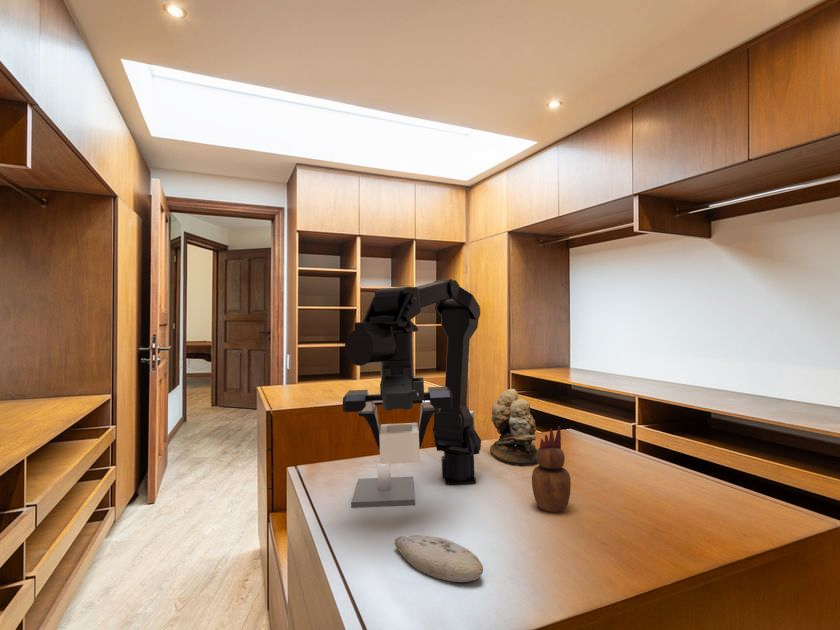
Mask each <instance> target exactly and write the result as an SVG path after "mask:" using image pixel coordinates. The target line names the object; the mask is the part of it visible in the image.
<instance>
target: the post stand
mask: <svg viewBox="0 0 840 630" xmlns="http://www.w3.org/2000/svg"><path fill="white" fill-rule="evenodd" d="M376 464H377V465H376V466H377V477H368V478H357V481H356V484H355V488H354V491H353V494H352V498H351V501H350V506H351V508H352V509H353V508H371V507H372V508H373V507H395V506H399V507H400V506H416V505H415V504H416V503H415V502H416V499H415V483H414V482H415V480H414V479H415V478H414V476H393V477H391V464H380V462H378V463H376Z"/></svg>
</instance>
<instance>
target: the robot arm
mask: <svg viewBox="0 0 840 630" xmlns="http://www.w3.org/2000/svg"><path fill="white" fill-rule="evenodd" d="M433 304H435V305H434V310H435V312H436V313H437V314H438V315H439V317H440V321H441V322H440V323H441V327H442V329H443V331H444V333H445V335H446V337H447V344H446V345H447V346H446V360H445V364H446V365H445V381H444V386H428V387H427V388H428V389H427V391H425V382H424V381H425V380H424V377H423V376H419V377H415V376H414V374H415V373H414V371H415V370H414V345H413V344H414V343H413V333H415V332H418V331H419V327H418V326H417V325H416V324H414V322H413V321H412V320H413V319H414V318H415V317H417V316H418V315H420V314H421V312H422V309H423V308H424V307H425V308H426V307H428V306H431V305H433ZM480 317H481V306H480V304H479V303H478V301H477V299H476V298H475V296H474V295H473V294H472V293H471V292H469V291H468V290H466V289H465V288H462V287H461V286H460V285H459V282H458V281H457V280H455V279H451V278H449V279H446V278H445V279H436V280H434V281H433V282H430V283H425V284H422V285H418V286H399V287H386V288H379V289H377V290H376V291H374V296H373V298H372V299H371V302H370V304H369V307H368V309H367V311H366V313H365V316H364V318H363V320H362V321H360V322H359V321H358V322H357V321H356V322H354V323H353V326H354V328H353V329H354V330H353V331H351V332H350V333H349V334H348V336H347V338H346V341H345V343H344V350H345V355H346V357H347V359H348V360H349V362H351V363H352V364H353V365H355V366H360V367H362V366H367V365H372V364H377V363H380V384H379V389H380V391H379V392H380V393H376V394H373V393H372V394H369V391H368V390H369V389H357V390H356V389H353V390H352V389H350V390H348V391H347V392H346V393H345V395H344V396H343V397H342V412H343V413H357V416H358V417H362V418H364V419H365V420H366V422H367V423H368V425H369V428H370V430H371V432H372V435H373V438H374V441H375V443H376V446H377V449H378V451H380V438H379V434H380V428H381V426H380V423H379V422H380V421H379V420H380V419H379V415H378V407H377V406H382V409H383V410H384V411H389V412H390V411H392V410H403V411H408V410H411V409H413V406H414V404H420V410H419V422H418V431H419V449H420V448H422V445H423V442H424V437H425V435H426V432H427V428H428V424H429V422H430V421H431V418H433V427H432V435H433V440H434V444H435V449H436V451H437V452H439V451H440V452H443V455H442V456H440V457H441V459H440V461H441V477H442V479H443V480H444V483H445V485H463V484H465V485H466V484H476V483H477V480H476V477H475V455H479V454H480V451H481V447H482V440H481V438H480V437H479V435H478V433H477V431H476V429H475V430H474V428H473V417H472V415H471V413H470V411H471V410H469V406H467V401H468V380H469V378H468V377H469V361H470V360H469V357H470V344H471V343H470V341H471V338H472V337H473V335H474V334H475V333H476V331H477V329H478V328H479V319H480ZM432 416H433V417H432Z"/></svg>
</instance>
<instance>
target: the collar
mask: <svg viewBox="0 0 840 630" xmlns="http://www.w3.org/2000/svg"><path fill="white" fill-rule="evenodd" d="M379 438H380V450H379V458H380V459H379V463H380V464H390V465H391V464H411V463H420V462H421V461H420V460H421V458H420V457H421V456H420V448H419V423H418V422H405V423H385V424H384V423H383V424H380V434H379Z"/></svg>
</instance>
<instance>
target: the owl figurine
mask: <svg viewBox="0 0 840 630" xmlns="http://www.w3.org/2000/svg"><path fill="white" fill-rule="evenodd" d="M530 407H531V405H530V403H529V402H528V401H527V400H525V399H523V398H519V395H518V391H517V390H516V389H515V388H510V389H506V390H504V391H502V393H501V394H500V395H499V397H498V399H497V401H495V402H494V403H493V405H492V406H491V418H490V420H491V422H492V424H493V426H494V427H495V429H496V432H497V433H498V434H499V437H498V440H496V441H494V443H492V444H491V445H490V447H489V452H490V455H491V456H492V458H493V459H495V460H496V461H498V462H500V463H503V464H505V465H509V466H519V467H520V466H521V467H522V466H527V465H539V464H538V463H537V459H536V453H537V450H538V449H537V448H536V445H535V443H534V442H533V441H536V439H537V437H536V431H537V427H536V420H535V419H534V417H533V415H532V414H531V409H530Z"/></svg>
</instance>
